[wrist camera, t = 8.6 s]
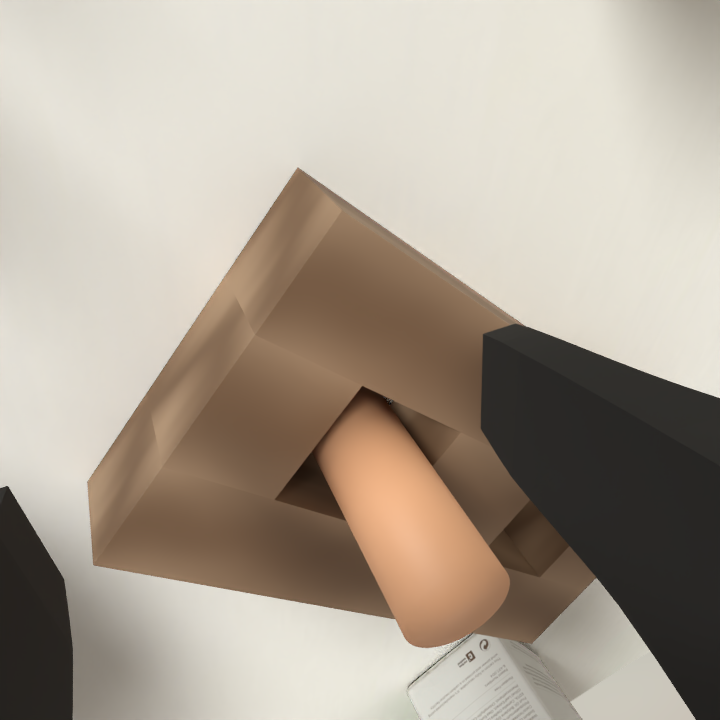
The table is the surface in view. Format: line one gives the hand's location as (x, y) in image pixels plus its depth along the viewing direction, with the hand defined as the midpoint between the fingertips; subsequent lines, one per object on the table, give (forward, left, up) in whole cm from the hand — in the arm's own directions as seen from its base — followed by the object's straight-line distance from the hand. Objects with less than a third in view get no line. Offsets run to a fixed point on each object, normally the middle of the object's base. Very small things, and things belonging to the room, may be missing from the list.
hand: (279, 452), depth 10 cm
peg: (-3, -8, -10) cm, 13 cm away
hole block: (-3, -13, -10) cm, 17 cm away
